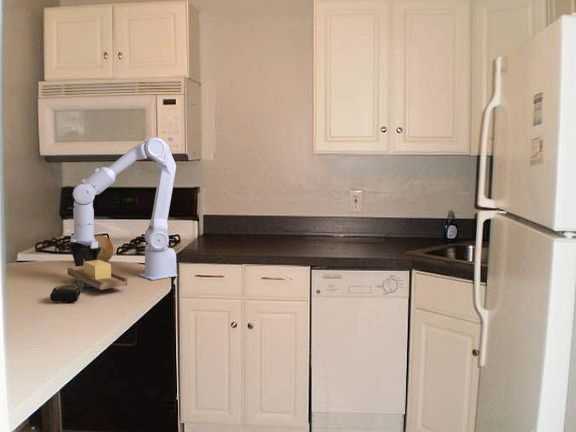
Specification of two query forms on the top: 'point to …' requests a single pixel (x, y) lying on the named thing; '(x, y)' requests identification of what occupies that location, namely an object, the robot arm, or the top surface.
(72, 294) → the tape measure
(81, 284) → the pivot stand
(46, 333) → the top surface
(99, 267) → the block
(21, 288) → the top surface
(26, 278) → the top surface
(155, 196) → the robot arm
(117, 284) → the beam
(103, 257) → the onion
